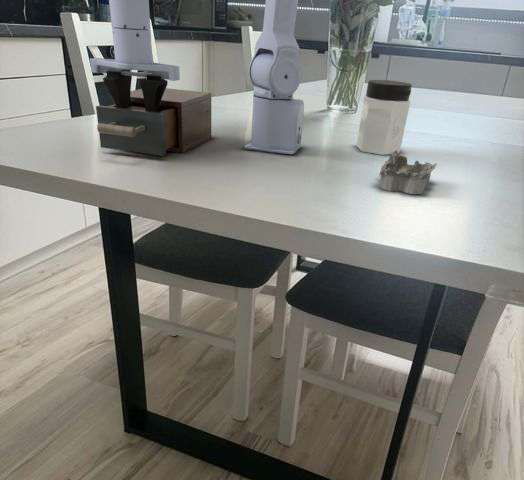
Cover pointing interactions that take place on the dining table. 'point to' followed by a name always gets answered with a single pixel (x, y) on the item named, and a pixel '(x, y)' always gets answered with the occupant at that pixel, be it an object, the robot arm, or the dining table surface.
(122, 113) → the drawer
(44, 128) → the dining table surface
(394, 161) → the egg carton
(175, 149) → the cabinet
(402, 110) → the jar
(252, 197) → the dining table surface
